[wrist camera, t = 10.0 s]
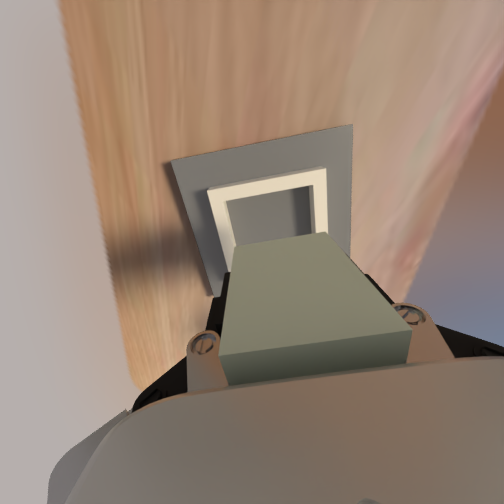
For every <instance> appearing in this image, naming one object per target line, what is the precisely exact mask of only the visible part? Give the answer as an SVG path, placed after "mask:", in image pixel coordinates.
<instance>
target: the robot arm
mask: <svg viewBox="0 0 504 504" xmlns="http://www.w3.org/2000/svg"><path fill="white" fill-rule="evenodd" d="M345 254H346V253H345ZM346 255H347V254H346ZM347 256H348V255H347ZM348 257H349V256H348ZM350 260H351V259H350ZM351 261H352V260H351ZM352 262H353V261H352ZM353 263H354V262H353ZM354 264H355V263H354ZM355 265H356V264H355ZM356 266H357V265H356ZM357 267H358V266H357ZM358 269H359V268H358ZM359 270H360V269H359ZM360 271H361V270H360ZM361 272H362V271H361ZM230 273H231V272H226V273H225V274H224V279H223V285H222V290H221V295H220V297H214V298H213V300H212V304H211V309H210V313H209V317H208V321H207V326H206V330H205V331H203V332H200V333H198V334H196V335H195V336H194V337H192V339H191V340H190V341H189V343H188V345H187V356H186V357H184V358H183V359H182V360H181V361H180V362H178V363H177V364H176V365H175V366H173V367H172V368H171V369H170V370H169V371H167V372H166V373H165V374H164V375H162V376H161V377H160V378H159V379H157V380H156V381H155V382H154V383H153V384H151V385H150V386H149V387H148V388H146V389H145V390H144V391H143V392H142V393H141V394H140V395H139V397H138V398H137V399H136V401H135V403H134V405H133V408H132V409H131V410H129V411H128V412H127V410H126V409H125V410H124V411H123V412H121V413H120V414H118V415H117V416H116V417H114V418H113V419H112V420H110V421H109V422H107V423H106V424H105V425H103V426H102V427H101V428H99V429H98V430H96V431H95V432H94V433H92V434H91V435H90V436H88V437H87V438H85V439H84V440H83V441H81V442H80V443H79V444H77V445H76V446H74V447H73V448H72V449H70V450H69V451H68V452H67V453H66V454H65V455H64V456H63V457H62V458H61V459H60V461H59V462H58V463H57V464H56V466H55V468H54V470H53V471H52V473H51V476H50V480H49V487H48V502H47V504H504V347H502V346H499V345H497V344H494V343H491V342H488V341H485V340H482V339H478V338H476V337H473V336H469V335H466V334H463V333H460V332H457V331H454V330H451V329H448V328H445V327H442V326H439V325H436V324H435V323H434V322H433V320H432V318H431V317H430V315H429V314H428V313H427V312H426V311H425V310H424V309H422V308H420V307H418V306H416V305H412V304H409V303H394V302H393V301H392V300H391V299H390V297H389V296H388V295H387V294H386V293H385V292H384V291H383V290H382V289H381V288H380V287H379V286H378V284H377V283H376V282H375V281H374V280H373V279H372V278H371V277H370V276H369V275H368V274H364V273H363V272H362V273H363V274H364V275H365V276H366V278H367V279H368V280H369V281H370V282H371V283H372V284H373V285H374V287H375V288H376V289H377V290H378V291H379V292H380V293H381V294H382V296H383V297H384V298H385V299H386V300H387V301H388V302H389V303H390V305H391V306H392V307H393V308H394V309H395V310H396V311H397V312H398V314H399V315H400V316H401V317H402V318H403V319H404V320H405V322H406V323H407V324H408V325H409V326H410V327H411V328H412V329H413V330H412V336H411V341H410V346H409V352H408V357H407V360H405V362H404V364H398V365H390V366H381V367H373V368H365V369H356V370H348V371H340V372H332V373H324V374H317V375H309V376H301V377H293V378H285V379H278V380H270V381H262V382H255V383H247V384H240V385H232V386H230V383H228V382H227V379H226V376H225V373H224V371H223V368H222V365H221V362H220V359H219V357H218V354H219V347H220V341H221V334H222V327H223V320H224V313H225V307H226V300H227V293H228V286H229V280H230Z"/></svg>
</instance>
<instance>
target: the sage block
mask: <svg viewBox="0 0 504 504" xmlns="http://www.w3.org/2000/svg"><path fill="white" fill-rule="evenodd" d="M412 330H413V329H412V328H411V327H410V326H409V325H408V324H407V323H406V322H405V320H404V319H403V318H402V317H401V316H400V315H399V314H398V312H397V311H396V310H395V309H394V308H393V307H392V306H391V305H390V303H389V302H388V301H387V300H386V299H385V298H384V297H383V296H382V294H381V293H380V292H379V291H378V290H377V289H376V288H375V287H374V285H373V284H372V283H371V282H370V281H369V280H368V279H367V278H366V276H365V275H364V274H363V273H362V272H361V271H360V270H359V269H358V267H357V266H356V265H355V264H354V263H353V262H352V261H351V260H350V258H349V257H348V256H347V255H346V254H345V253H344V252H343V251H342V249H341V248H340V247H339V246H338V245H337V244H336V243H335V242H334V240H333V239H332V238H331V237H330V236H329V235H328V234H327V233H326V231H325V232H319V233H313V234H307V235H301V236H295V237H289V238H283V239H277V240H271V241H265V242H259V243H253V244H248V245H242V246H236V247H234V253H233V259H232V266H231V273H230V280H229V286H228V293H227V300H226V307H225V313H224V320H223V327H222V334H221V341H220V347H219V354H218V357H219V359H220V362H221V365H222V368H223V371H224V373H225V376H226V379H227V382H228V383H230V386H232V385H240V384H247V383H255V382H262V381H270V380H278V379H285V378H293V377H301V376H309V375H317V374H324V373H332V372H340V371H348V370H356V369H365V368H373V367H381V366H390V365H398V364H404V362H405V360H407V357H408V352H409V346H410V341H411V336H412Z"/></svg>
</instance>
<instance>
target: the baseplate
mask: <svg viewBox="0 0 504 504" xmlns="http://www.w3.org/2000/svg"><path fill="white" fill-rule="evenodd" d="M352 147H353V124H351V125H345V126H340V127H335V128H330V129H325V130H320V131H315V132H310V133H305V134H300V135H296V136H291V137H286V138H281V139H276V140H271V141H266V142H261V143H256V144H251V145H246V146H241V147H236V148H231V149H226V150H221V151H216V152H211V153H206V154H201V155H196V156H191V157H186V158H181V159H176V160H172V161H171V164H172V167H173V170H174V173H175V176H176V180H177V183H178V186H179V189H180V192H181V195H182V198H183V201H184V204H185V208H186V211H187V214H188V217H189V220H190V223H191V226H192V229H193V233H194V236H195V239H196V242H197V245H198V248H199V251H200V254H201V257H202V261H203V264H204V267H205V270H206V273H207V276H208V279H209V282H210V286H211V289H212V292H213V295H214V297H220V295H221V290H222V285H223V279H224V274H225V273H226V272H231V266H232V259H233V253H234V247H236V246H242V245H248V244H253V243H259V242H265V241H271V240H277V239H283V238H289V237H295V236H301V235H307V234H313V233H319V232H325V231H326V233H327V234H328V235H329V236H330V237H331V238H332V239H333V240H334V242H335V243H336V244H337V245H338V246H339V247H340V248H341V249H342V251H343V252H344V253H346V254H347V255H348V256H349V258H350V239H351V193H352Z"/></svg>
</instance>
